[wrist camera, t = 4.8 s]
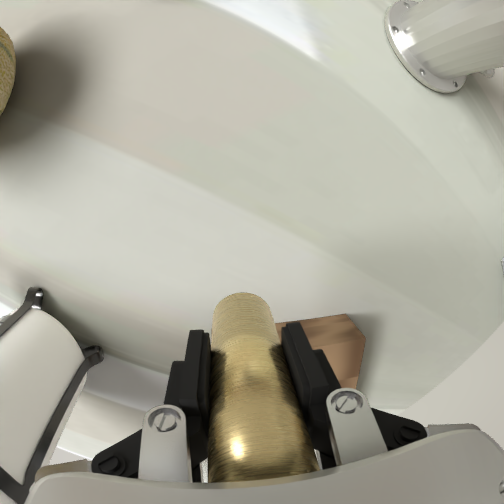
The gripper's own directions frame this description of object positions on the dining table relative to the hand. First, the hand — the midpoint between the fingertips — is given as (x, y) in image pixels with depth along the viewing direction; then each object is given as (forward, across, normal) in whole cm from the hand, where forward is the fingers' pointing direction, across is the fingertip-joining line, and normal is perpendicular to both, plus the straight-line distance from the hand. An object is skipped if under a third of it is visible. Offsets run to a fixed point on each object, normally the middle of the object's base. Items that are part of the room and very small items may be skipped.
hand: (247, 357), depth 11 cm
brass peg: (+3, 0, 0) cm, 3 cm away
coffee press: (+15, +24, +9) cm, 29 cm away
